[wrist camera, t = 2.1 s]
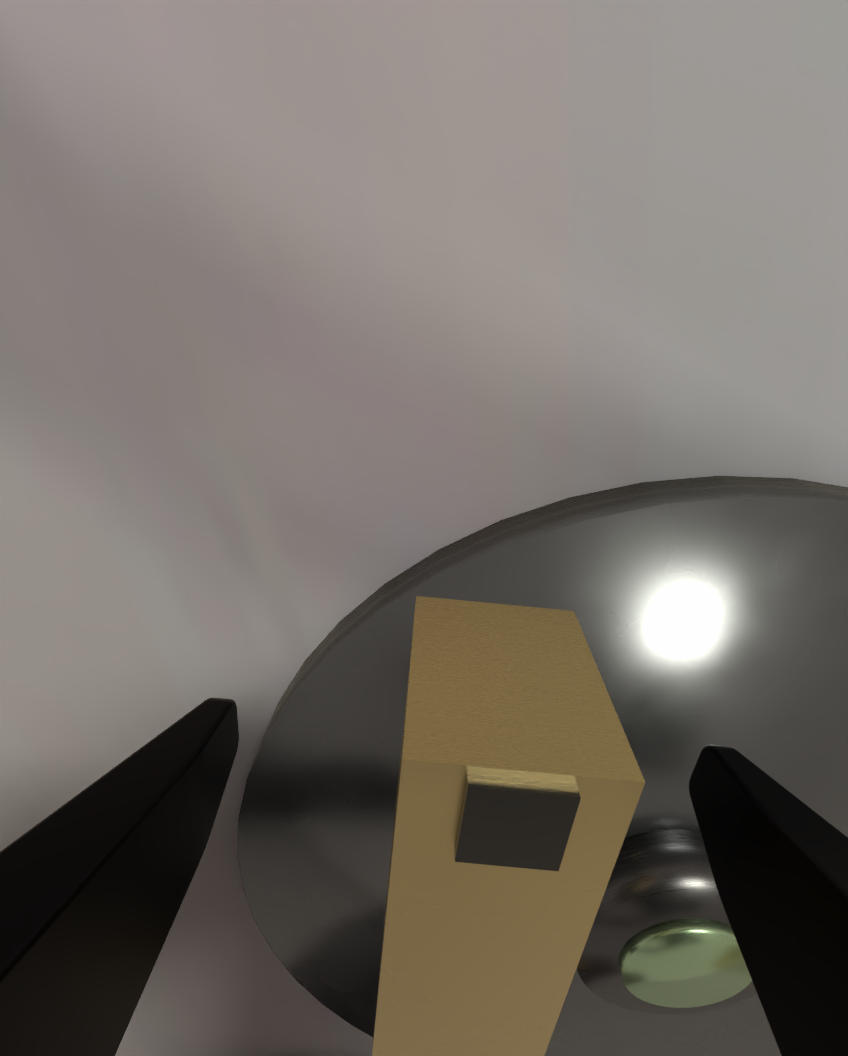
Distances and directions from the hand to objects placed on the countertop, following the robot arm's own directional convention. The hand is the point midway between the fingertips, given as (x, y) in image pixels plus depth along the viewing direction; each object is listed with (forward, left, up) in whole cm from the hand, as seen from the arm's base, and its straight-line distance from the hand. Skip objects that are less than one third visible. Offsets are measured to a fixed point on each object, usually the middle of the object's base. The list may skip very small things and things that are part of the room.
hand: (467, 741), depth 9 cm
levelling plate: (-7, -6, -4) cm, 10 cm away
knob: (0, 0, -2) cm, 2 cm away
